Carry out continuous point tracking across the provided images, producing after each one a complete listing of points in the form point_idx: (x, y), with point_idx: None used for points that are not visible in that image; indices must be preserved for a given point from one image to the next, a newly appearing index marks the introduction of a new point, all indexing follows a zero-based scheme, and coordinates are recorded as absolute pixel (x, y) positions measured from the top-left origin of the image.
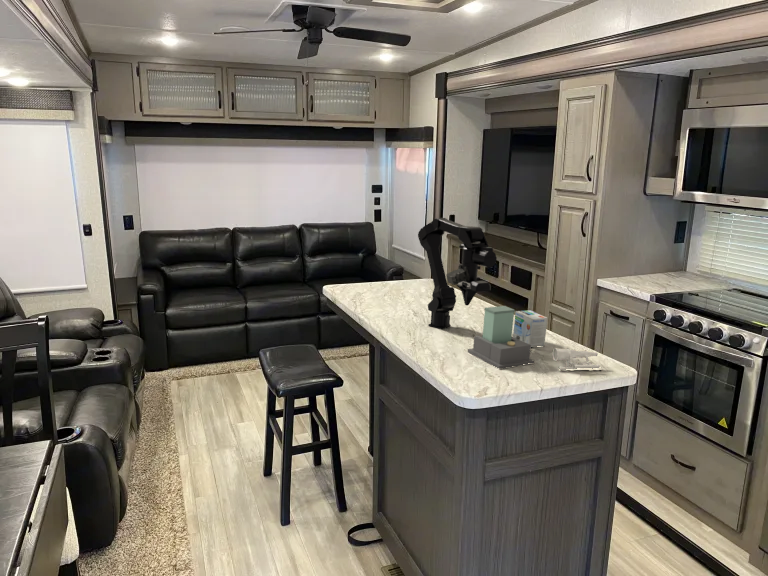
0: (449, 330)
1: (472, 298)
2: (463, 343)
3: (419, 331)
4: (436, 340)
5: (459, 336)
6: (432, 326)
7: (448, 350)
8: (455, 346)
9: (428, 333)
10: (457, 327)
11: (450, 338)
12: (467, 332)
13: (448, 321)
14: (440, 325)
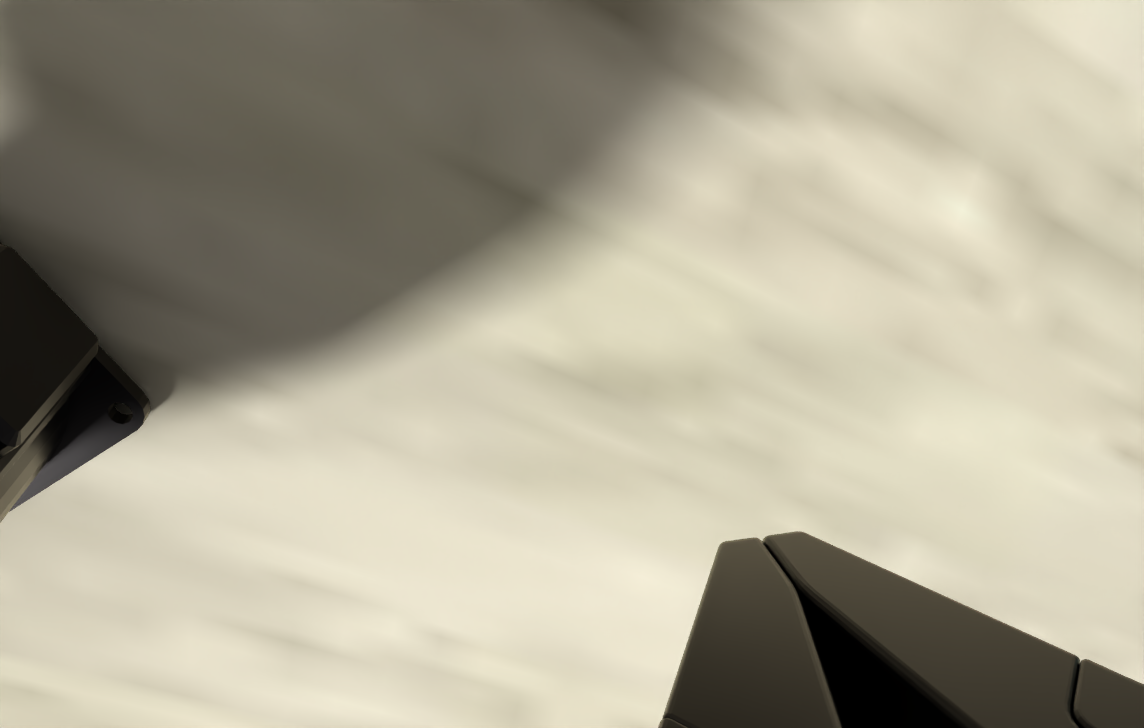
0: (212, 299)
1: (1007, 628)
2: (907, 361)
3: (240, 719)
4: (669, 646)
5: (571, 274)
6: (12, 507)
7: (1067, 643)
8: (975, 515)
9: (346, 645)
10: (9, 62)
11: (634, 448)
12: (365, 13)
13: (2, 317)
14: (60, 428)
